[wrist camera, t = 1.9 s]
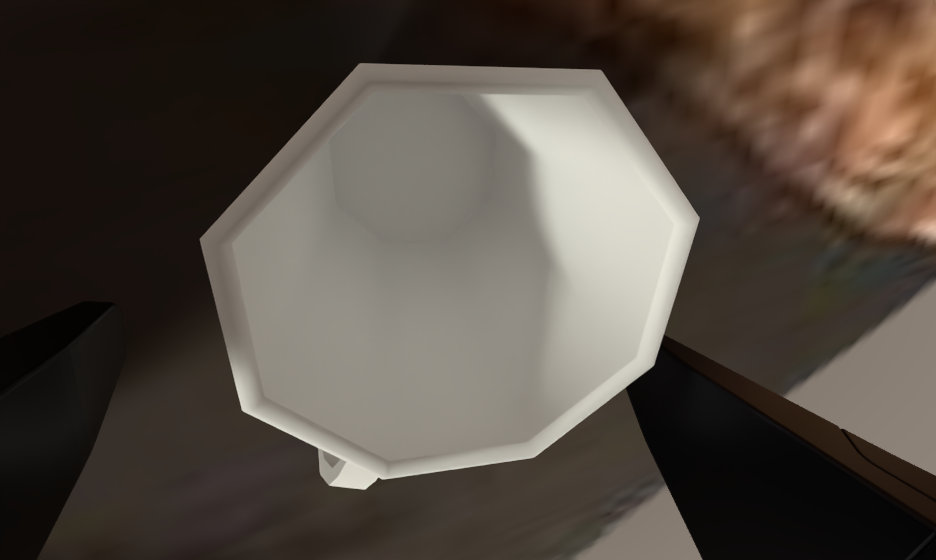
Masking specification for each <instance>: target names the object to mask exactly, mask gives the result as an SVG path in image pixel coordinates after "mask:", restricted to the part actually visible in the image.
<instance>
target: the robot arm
mask: <svg viewBox="0 0 936 560" xmlns="http://www.w3.org/2000/svg"><path fill="white" fill-rule="evenodd" d="M125 356H126V344H125V338H124V331H123V324H122V317H121V312H120V309H119V307H118V305H116V304H115V303H112V302H96V301H84V302H81V303H78V304H76V305H74V306H72V307H69V308H67V309H65V310H63V311H60V312H58V313H56V314H53V315H51V316H49V317H47V318H44V319H42V320H40V321H38V322H35V323H33V324H31V325H28V326H26V327H24V328H22V329H19V330H17V331H15V332H12V333H10V334H8V335H6V336H3V337H1V338H0V560H37V558H38V556H39V554H40V552H41V550H42V548H43V546H44V545H45V543H46V541H47V539H48V537H49V535H50V533H51V531H52V529H53V527H54V525H55V523H56V521H57V519H58V517H59V515H60V513H61V511H62V509H63V507H64V505H65V503H66V501H67V500H68V498H69V496H70V494H71V492H72V490H73V488H74V486H75V484H76V482H77V480H78V478H79V476H80V474H81V472H82V470H83V468H84V466H85V464H86V462H87V460H88V458H89V456H90V454H91V451H92V449H93V446H94V444H95V441H96V439H97V436H98V433H99V431H100V428H101V425H102V422H103V420H104V417H105V414H106V411H107V408H108V406H109V403H110V400H111V397H112V395H113V392H114V389H115V386H116V384H117V381H118V378H119V375H120V372H121V370H122V367H123V364H124V361H125ZM626 390H627V393H628V396H629V398H630V401H631V404H632V406H633V409H634V412H635V415H636V417H637V420H638V423H639V425H640V428H641V431H642V433H643V436H644V438H645V441H646V443H647V445H648V447H649V449H650V452H651V454H652V456H653V458H654V460H655V462H656V464H657V466H658V468H659V470H660V472H661V474H662V477H663V479H664V481H665V483H666V485H667V487H668V489H669V491H670V493H671V495H672V497H673V499H674V501H675V503H676V506H677V507H678V510H679V512H680V514H681V516H682V518H683V520H684V522H685V524H686V526H687V528H688V530H689V532H690V534H691V536H692V538H693V541H694V543H695V545H696V547H697V549H698V551H699V553H700V555H701V557H702V559H703V560H936V476H935V475H933V474H931V473H929V472H927V471H925V470H922V469H921V468H919V467H917V466H915V465H913V464H911V463H909V462H907V461H905V460H902V459H901V458H899V457H897V456H895V455H893V454H891V453H889V452H887V451H885V450H883V449H881V448H879V447H877V446H875V445H873V444H871V443H869V442H867V441H866V440H864V439H862V438H860V437H858V436H856V435H854V434H852V433H850V432H848V431H846V430H845V429H840V428H839V427H838V426H837V425H835V424H833V423H831V422H829V421H827V420H825V419H823V418H821V417H820V416H818V415H816V414H814V413H812V412H810V411H808V410H806V409H804V408H803V407H800V406H799V405H797V404H795V403H793V402H791V401H789V400H787V399H785V398H783V397H782V396H780V395H778V394H776V393H774V392H772V391H770V390H768V389H766V388H764V387H763V386H761V385H759V384H757V383H755V382H753V381H751V380H749V379H747V378H745V377H744V376H742V375H740V374H738V373H736V372H734V371H732V370H730V369H728V368H726V367H724V366H723V365H721V364H719V363H717V362H715V361H713V360H711V359H709V358H707V357H705V356H704V355H702V354H700V353H698V352H696V351H694V350H692V349H690V348H688V347H686V346H685V345H683V344H681V343H679V342H677V341H675V340H673V339H671V338H669V337H667V336H665V335H663V338H662V341H661V344H660V348H659V351H658V354H657V357H656V361H655V364H654V366H653V367H652V368H650V369H649V370H648V371H646V372H645V373H644V374H642V375H641V376H640V377H638V378H637V379H636V380H635V381H633V382H632V383H631V384H629V385H628V386H627V387H626Z"/></svg>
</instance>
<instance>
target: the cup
mask: <svg viewBox="0 0 936 560" xmlns="http://www.w3.org/2000/svg"><path fill="white" fill-rule="evenodd" d="M699 219H700V218H699V216H698V215H697V213H696V212H695V210H694V209H693V207H692V206H691V204H690V203H689V201H688V200H687V198H686V197H685V195H684V194H683V192H682V191H681V189H680V188H679V186H678V185H677V183H676V182H675V180H674V179H673V177H672V176H671V174H670V173H669V171H668V170H667V168H666V167H665V165H664V164H663V162H662V161H661V159H660V158H659V156H658V155H657V153H656V152H655V150H654V149H653V147H652V146H651V144H650V143H649V141H648V140H647V138H646V137H645V135H644V134H643V132H642V131H641V129H640V128H639V126H638V125H637V123H636V122H635V120H634V119H633V117H632V116H631V114H630V113H629V111H628V110H627V108H626V107H625V105H624V104H623V102H622V101H621V99H620V97H619V96H618V94H617V93H616V91H615V90H614V88H613V87H612V85H611V84H610V82H609V81H608V79H607V78H606V76H605V75H604V73H603V72H602V70H587V69H551V68H515V67H479V66H442V65H406V64H370V63H360V64H359V65H358V66H357V67H356V68H355V69H354V70H353V71H352V72H351V73H350V74H349V76H348V77H347V78H346V79H345V80H344V81H343V82H342V83H341V84H340V85H339V87H338V88H337V89H336V90H335V91H334V92H333V93H332V94H331V95H330V96H329V98H328V99H327V100H326V101H325V102H324V103H323V104H322V105H321V106H320V107H319V109H318V110H317V111H316V112H315V113H314V114H313V115H312V116H311V117H310V118H309V120H308V121H307V122H306V123H305V124H304V125H303V126H302V127H301V128H300V129H299V131H298V132H297V133H296V134H295V135H294V136H293V137H292V138H291V139H290V140H289V142H288V143H287V144H286V145H285V146H284V147H283V148H282V149H281V150H280V151H279V153H278V154H277V155H276V156H275V157H274V158H273V159H272V160H271V161H270V162H269V163H268V165H267V166H266V167H265V168H264V169H263V170H262V171H261V172H260V173H259V174H258V176H257V177H256V178H255V179H254V180H253V181H252V182H251V183H250V184H249V185H248V187H247V188H246V189H245V190H244V191H243V192H242V193H241V194H240V195H239V196H238V198H237V199H236V200H235V201H234V202H233V203H232V204H231V205H230V206H229V207H228V209H227V210H226V211H225V212H224V213H223V214H222V215H221V216H220V217H219V218H218V220H217V221H216V222H215V223H214V224H213V225H212V226H211V227H210V228H209V229H208V231H207V232H206V233H205V234H204V235H203V236H202V237H201V238H200V243H201V247H202V251H203V255H204V259H205V263H206V267H207V271H208V275H209V279H210V283H211V287H212V291H213V295H214V299H215V304H216V308H217V312H218V316H219V320H220V324H221V328H222V332H223V336H224V340H225V344H226V348H227V352H228V356H229V360H230V364H231V368H232V372H233V376H234V380H235V384H236V388H237V392H238V396H239V400H240V404H241V408H242V411H244V412H246V413H248V414H250V415H252V416H254V417H256V418H258V419H260V420H262V421H264V422H266V423H268V424H270V425H272V426H274V427H276V428H278V429H280V430H282V431H285V432H287V433H289V434H291V435H293V436H295V437H297V438H299V439H301V440H303V441H305V442H307V443H309V444H311V445H313V446H315V447H317V448H318V451H319V466H320V475H321V476H322V477H323V479H324V480H325V481H326V482H327V484H328V485H329V486H338V487H347V488H356V489H364V490H365V489H366V488H367V487H369V486H370V485H371V484H372V483H374V482H375V481H376V480H377V478H378V477H379V478H381V479H390V478H397V477H403V476H410V475H417V474H424V473H431V472H438V471H445V470H452V469H459V468H466V467H473V466H480V465H487V464H494V463H500V462H507V461H514V460H521V459H528V458H534V457H535V456H537V455H538V454H539V453H541V452H542V451H543V450H544V449H546V448H547V447H548V446H550V445H551V444H552V443H554V442H555V441H556V440H558V439H559V438H560V437H561V436H563V435H564V434H565V433H567V432H568V431H569V430H571V429H572V428H573V427H574V426H576V425H577V424H578V423H580V422H581V421H582V420H584V419H585V418H586V417H588V416H589V415H590V414H591V413H593V412H594V411H595V410H597V409H598V408H599V407H601V406H602V405H603V404H605V403H606V402H607V401H608V400H610V399H611V398H612V397H614V396H615V395H616V394H618V393H619V392H620V391H622V390H623V389H624V388H625V387H627V386H628V385H629V384H631V383H632V382H633V381H635V380H636V379H637V378H638V377H640V376H641V375H642V374H644V373H645V372H646V371H648V370H649V369H650V368H652V367H653V366H654V364H655V361H656V357H657V354H658V351H659V348H660V344H661V341H662V338H663V335H664V332H665V328H666V325H667V322H668V319H669V316H670V312H671V309H672V306H673V303H674V300H675V296H676V293H677V290H678V287H679V284H680V280H681V277H682V274H683V271H684V268H685V264H686V261H687V258H688V255H689V251H690V248H691V245H692V242H693V239H694V235H695V232H696V229H697V226H698V223H699Z"/></svg>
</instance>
